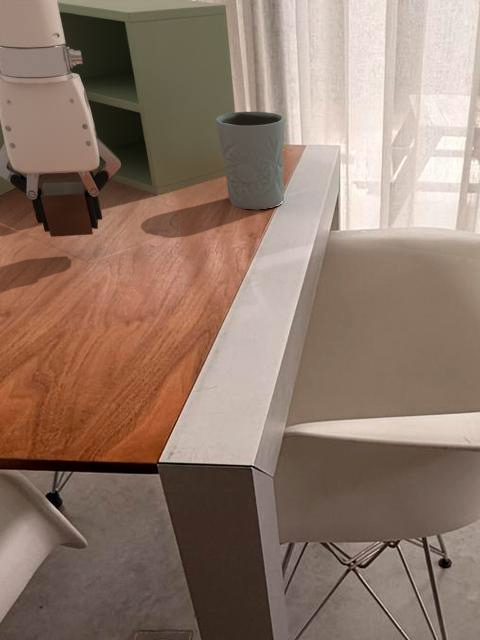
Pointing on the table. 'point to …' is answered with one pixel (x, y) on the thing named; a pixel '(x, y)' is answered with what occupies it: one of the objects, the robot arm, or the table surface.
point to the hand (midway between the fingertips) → (71, 225)
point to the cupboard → (154, 85)
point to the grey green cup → (253, 158)
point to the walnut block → (66, 209)
